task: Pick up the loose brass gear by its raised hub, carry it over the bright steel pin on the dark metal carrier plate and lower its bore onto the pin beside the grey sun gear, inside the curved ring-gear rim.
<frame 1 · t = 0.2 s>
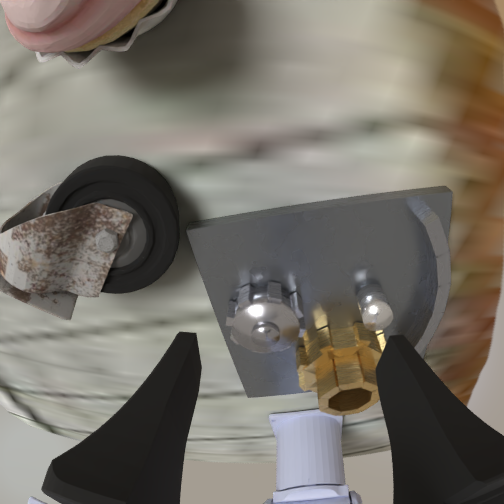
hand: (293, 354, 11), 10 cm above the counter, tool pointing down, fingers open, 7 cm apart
caster wheel: (102, 207, 20), on the counter
planet gear: (341, 354, 24), point 1 cm above the counter, touching carrier
carrier: (332, 312, 23), on the counter
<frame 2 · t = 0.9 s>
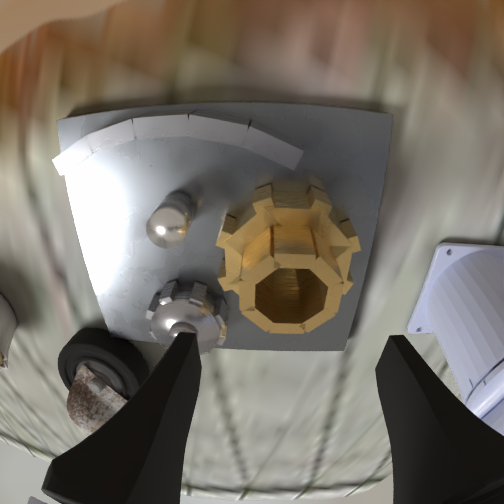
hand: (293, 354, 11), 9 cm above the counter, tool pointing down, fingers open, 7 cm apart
caster wheel: (110, 364, 27), on the counter
planet gear: (286, 246, 18), point 1 cm above the counter, touching carrier
carrier: (218, 242, 19), on the counter
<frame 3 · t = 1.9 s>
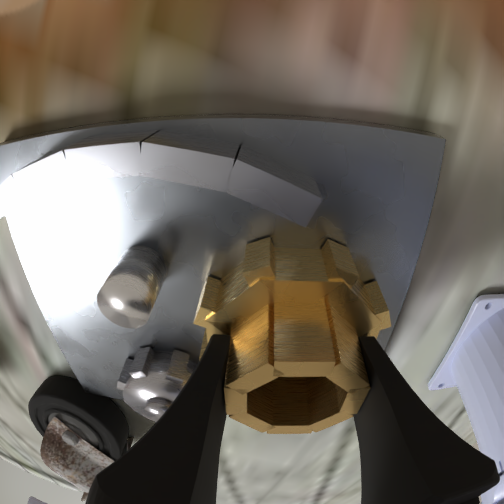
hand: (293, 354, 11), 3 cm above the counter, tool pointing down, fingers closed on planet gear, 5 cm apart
caster wheel: (87, 408, 23), on the counter
planet gear: (290, 313, 13), point 1 cm above the counter, touching carrier, gripper
carrier: (201, 303, 15), on the counter
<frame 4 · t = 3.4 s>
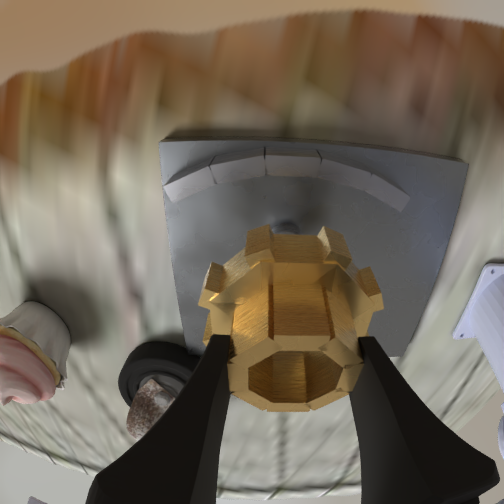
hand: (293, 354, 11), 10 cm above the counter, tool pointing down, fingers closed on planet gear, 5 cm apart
caster wheel: (166, 375, 29), on the counter
cupcake: (47, 323, 26), on the counter
planet gear: (289, 297, 14), point 6 cm above the counter, touching gripper
carrier: (312, 266, 21), on the counter
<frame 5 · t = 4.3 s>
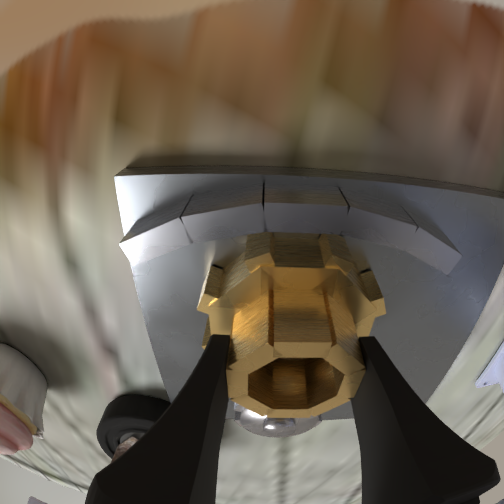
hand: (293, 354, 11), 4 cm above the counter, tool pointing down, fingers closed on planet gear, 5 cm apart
caster wheel: (151, 422, 24), on the counter
cupcake: (21, 365, 21), on the counter
planet gear: (289, 302, 14), point 1 cm above the counter, touching carrier, gripper
carrier: (323, 328, 16), on the counter
when the fingers open (4 cm above the counter, at t = 4.7 s): planet gear stays where it is, resting on carrier.
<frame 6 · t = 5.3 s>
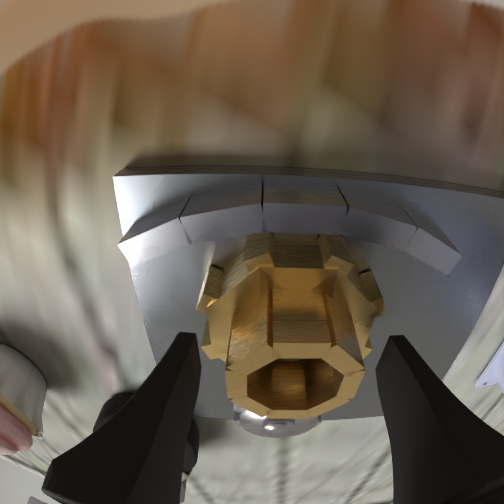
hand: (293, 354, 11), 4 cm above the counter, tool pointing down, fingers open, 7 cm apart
caster wheel: (147, 421, 24), on the counter
cupcake: (20, 365, 21), on the counter
planet gear: (289, 302, 14), point 1 cm above the counter, touching carrier
carrier: (323, 328, 16), on the counter
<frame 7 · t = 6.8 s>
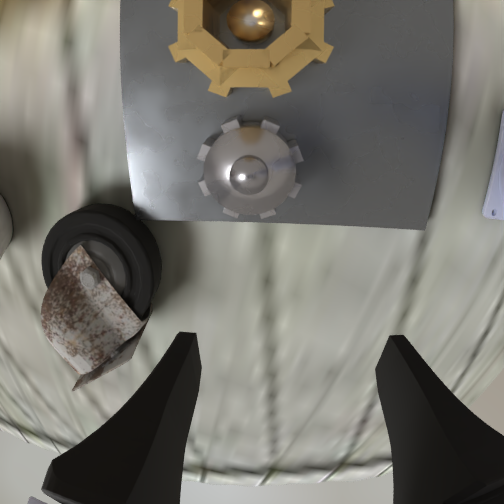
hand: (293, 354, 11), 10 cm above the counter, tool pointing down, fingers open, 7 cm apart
caster wheel: (107, 266, 22), on the counter
planet gear: (252, 26, 13), point 1 cm above the counter, touching carrier
carrier: (291, 75, 15), on the counter
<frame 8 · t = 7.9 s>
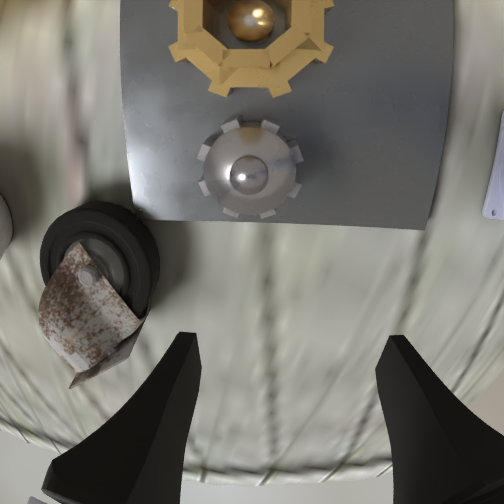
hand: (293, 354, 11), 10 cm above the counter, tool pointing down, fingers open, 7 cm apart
caster wheel: (105, 264, 22), on the counter
planet gear: (252, 26, 13), point 1 cm above the counter, touching carrier
carrier: (291, 75, 15), on the counter
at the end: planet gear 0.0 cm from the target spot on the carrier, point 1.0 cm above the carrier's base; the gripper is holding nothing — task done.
